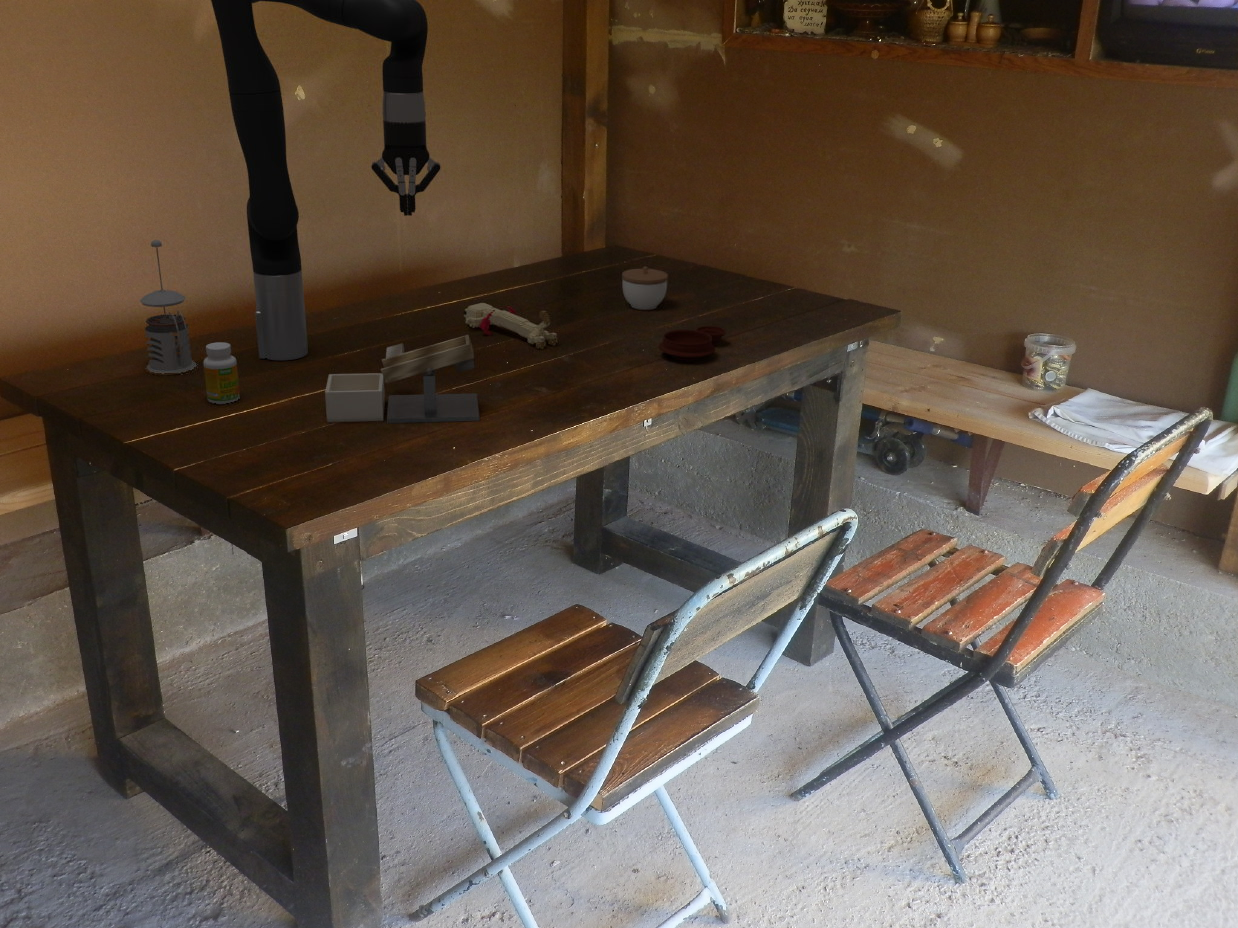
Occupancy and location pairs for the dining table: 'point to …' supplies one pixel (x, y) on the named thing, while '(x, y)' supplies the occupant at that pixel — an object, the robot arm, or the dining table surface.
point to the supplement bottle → (221, 374)
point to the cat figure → (510, 323)
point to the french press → (167, 332)
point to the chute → (427, 358)
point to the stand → (432, 406)
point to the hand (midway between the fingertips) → (408, 214)
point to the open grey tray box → (355, 397)
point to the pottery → (691, 342)
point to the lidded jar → (644, 287)
